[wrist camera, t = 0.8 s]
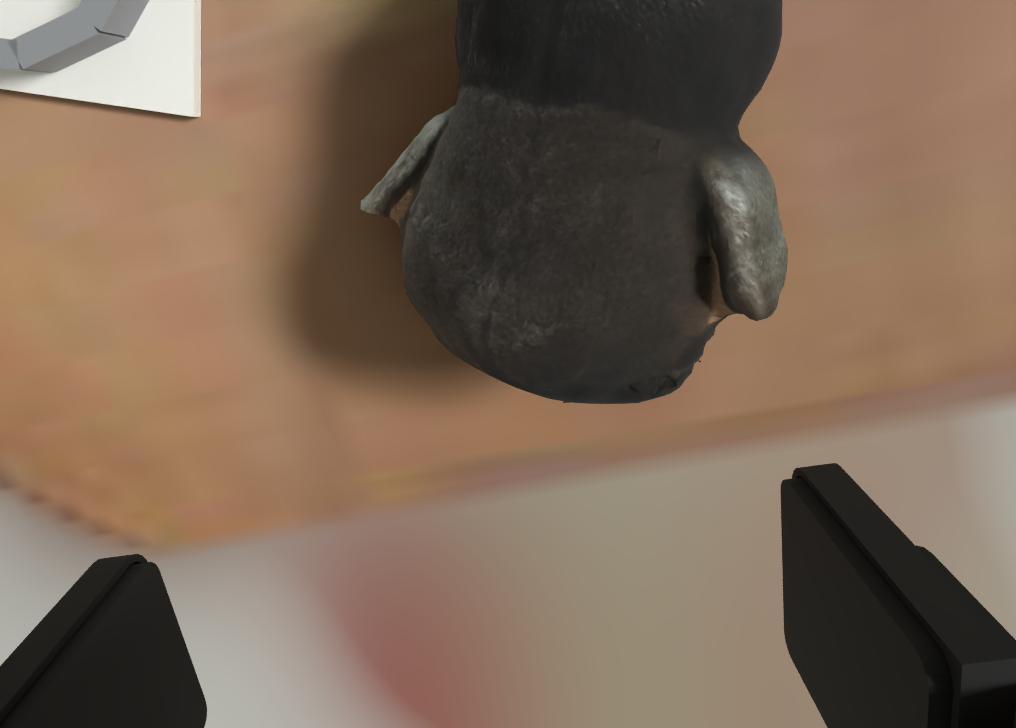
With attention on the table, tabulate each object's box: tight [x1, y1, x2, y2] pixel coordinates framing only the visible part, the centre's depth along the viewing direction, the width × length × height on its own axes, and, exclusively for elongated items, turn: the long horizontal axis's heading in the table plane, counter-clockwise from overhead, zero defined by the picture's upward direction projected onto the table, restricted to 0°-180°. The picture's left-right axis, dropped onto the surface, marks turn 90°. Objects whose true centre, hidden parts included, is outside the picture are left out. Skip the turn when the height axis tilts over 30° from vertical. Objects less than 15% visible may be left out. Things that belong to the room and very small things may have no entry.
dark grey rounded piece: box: [360, 0, 787, 404], centre depth 31 cm, size 20×21×13 cm
